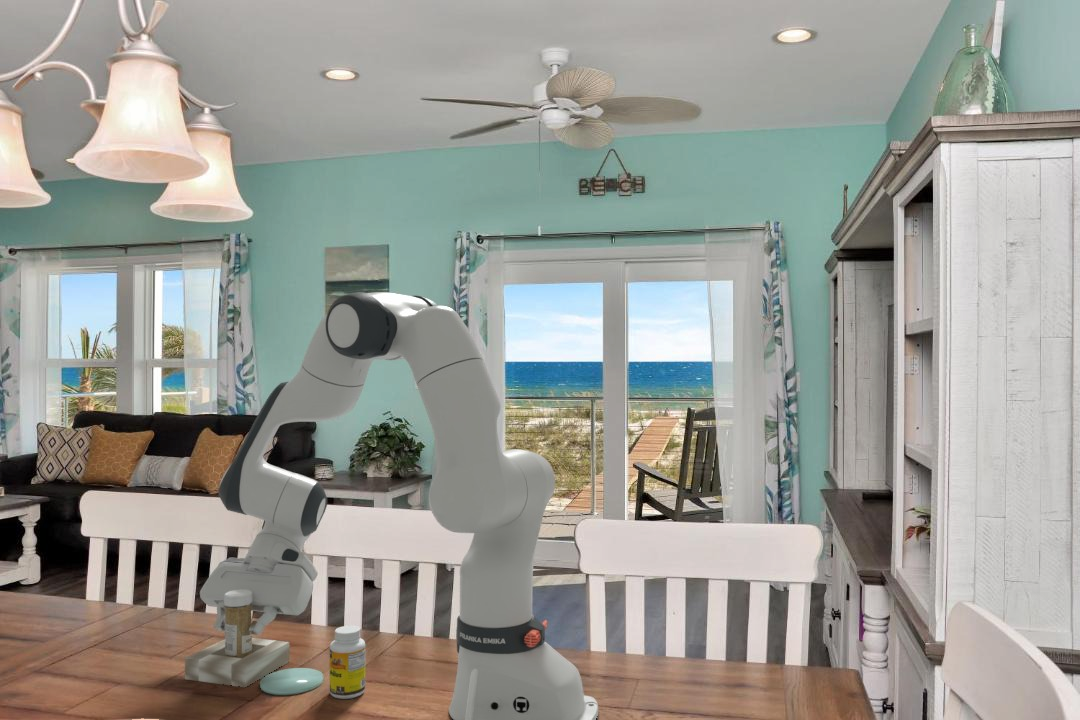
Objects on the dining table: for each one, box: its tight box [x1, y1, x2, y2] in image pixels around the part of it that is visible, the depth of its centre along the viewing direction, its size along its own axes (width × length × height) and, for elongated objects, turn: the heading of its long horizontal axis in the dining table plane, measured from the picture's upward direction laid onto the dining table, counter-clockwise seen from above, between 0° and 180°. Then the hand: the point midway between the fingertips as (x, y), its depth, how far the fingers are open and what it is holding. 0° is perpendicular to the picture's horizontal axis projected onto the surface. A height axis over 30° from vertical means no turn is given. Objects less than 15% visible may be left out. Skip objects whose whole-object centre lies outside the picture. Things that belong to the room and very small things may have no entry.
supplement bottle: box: [329, 625, 366, 700], centre depth 132 cm, size 6×6×10 cm
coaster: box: [259, 667, 324, 696], centre depth 137 cm, size 10×10×1 cm
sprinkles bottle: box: [224, 589, 253, 658], centre depth 142 cm, size 5×5×14 cm
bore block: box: [184, 637, 290, 688], centre depth 142 cm, size 12×12×4 cm
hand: (236, 631), depth 142 cm, fingers open, 6 cm apart
